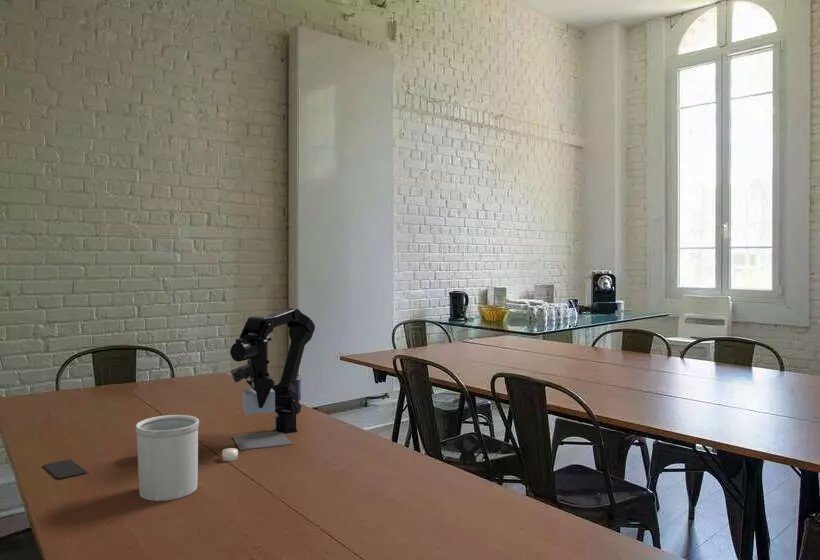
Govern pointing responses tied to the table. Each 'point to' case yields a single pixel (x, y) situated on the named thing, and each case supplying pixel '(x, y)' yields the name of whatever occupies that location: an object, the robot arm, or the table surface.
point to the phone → (64, 469)
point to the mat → (261, 440)
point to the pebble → (230, 454)
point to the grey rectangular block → (252, 402)
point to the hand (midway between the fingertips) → (258, 405)
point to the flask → (298, 387)
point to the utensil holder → (167, 456)
